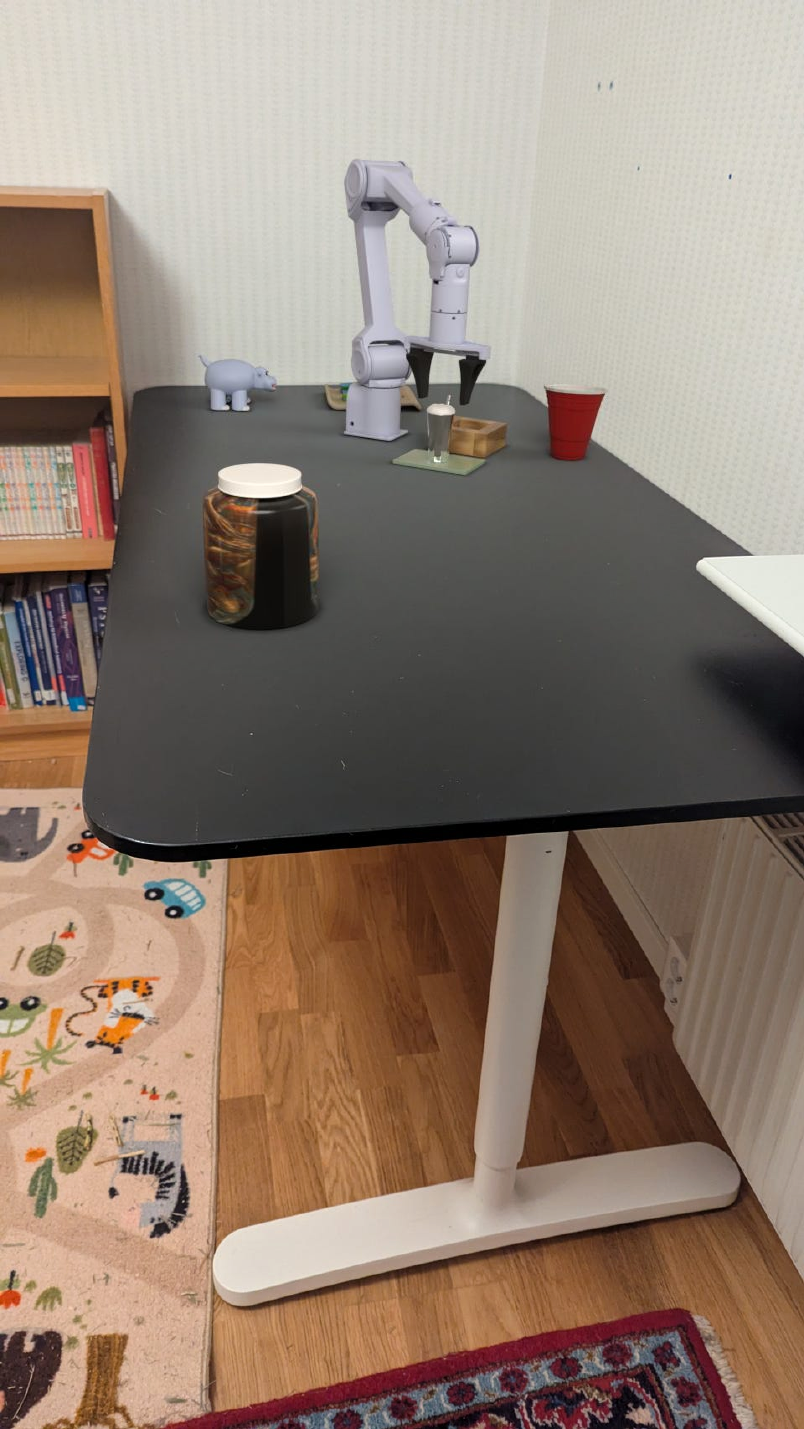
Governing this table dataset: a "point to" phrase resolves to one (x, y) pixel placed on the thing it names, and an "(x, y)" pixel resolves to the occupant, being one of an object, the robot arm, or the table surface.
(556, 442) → the plastic cup
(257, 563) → the jar
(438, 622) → the table surface
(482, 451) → the holder
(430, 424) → the milkshake
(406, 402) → the puzzle board
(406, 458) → the tile
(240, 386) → the hippopotamus toy
